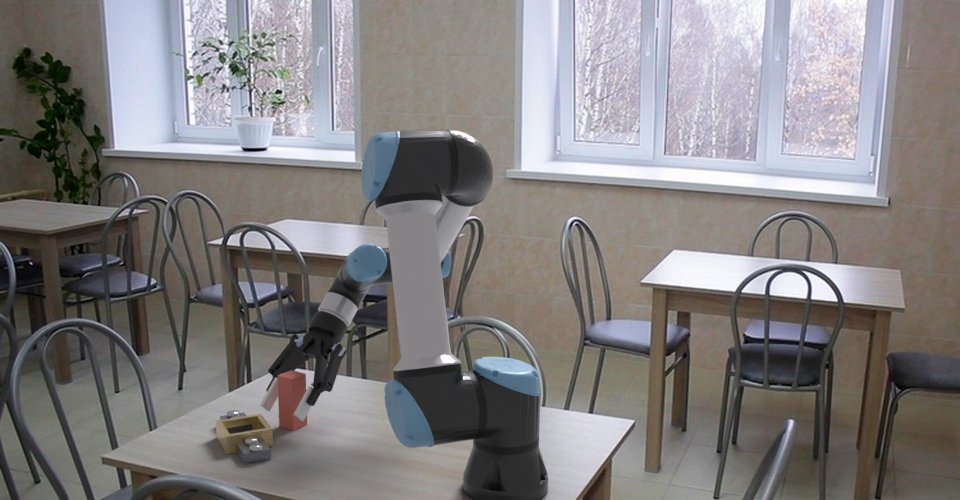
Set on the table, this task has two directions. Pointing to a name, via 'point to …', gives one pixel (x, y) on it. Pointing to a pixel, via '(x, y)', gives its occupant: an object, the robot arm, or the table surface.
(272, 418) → the table surface
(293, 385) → the link pin
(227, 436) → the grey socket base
